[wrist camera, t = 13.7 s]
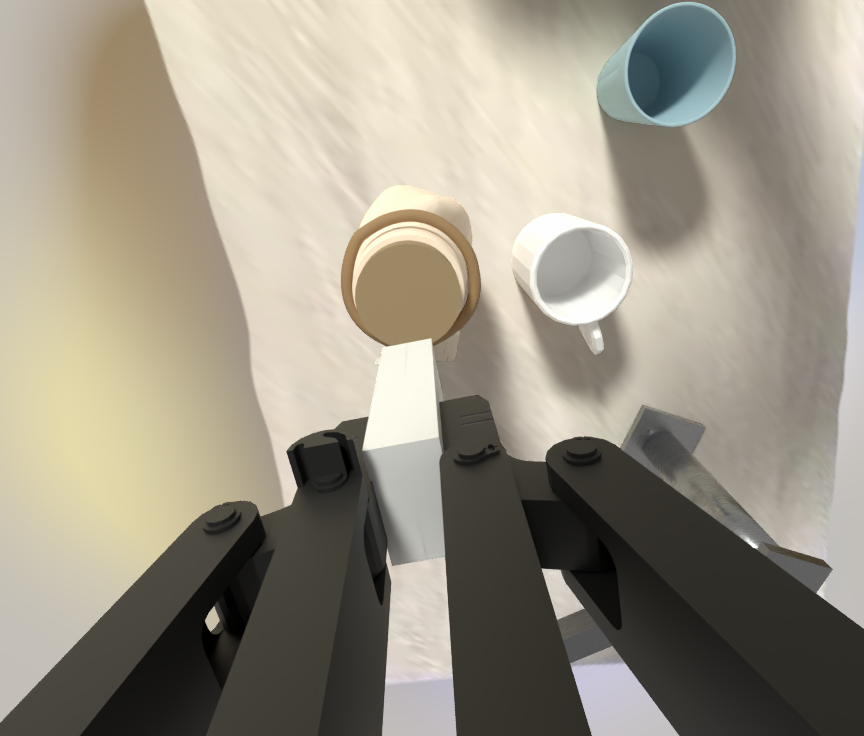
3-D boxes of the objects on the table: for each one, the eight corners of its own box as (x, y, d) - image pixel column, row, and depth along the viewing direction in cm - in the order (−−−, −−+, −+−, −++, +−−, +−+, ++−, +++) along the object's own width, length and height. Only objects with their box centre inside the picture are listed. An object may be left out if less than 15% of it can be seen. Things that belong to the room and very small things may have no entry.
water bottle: (482, 269, 54) (544, 369, 27) (396, 306, 55) (375, 437, 28) (440, 163, 50) (465, 160, 24) (349, 205, 51) (276, 246, 25)
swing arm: (716, 550, 43) (731, 569, 41) (726, 574, 44) (741, 594, 42) (496, 643, 46) (500, 666, 44) (510, 665, 47) (514, 688, 45)
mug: (538, 347, 56) (562, 382, 47) (499, 232, 53) (516, 246, 43) (616, 318, 56) (656, 348, 46) (582, 199, 52) (618, 206, 42)
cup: (602, 151, 50) (647, 147, 40) (569, 65, 48) (608, 38, 38) (683, 108, 49) (749, 93, 39) (653, 18, 47) (715, -22, 37)
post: (642, 404, 59) (764, 534, 38) (701, 424, 60) (852, 561, 39) (613, 461, 61) (714, 613, 40) (671, 479, 62) (799, 637, 41)
